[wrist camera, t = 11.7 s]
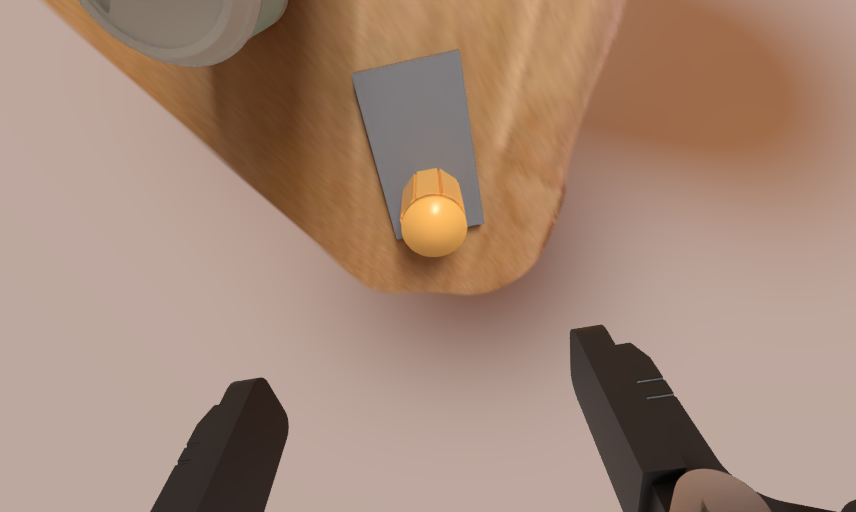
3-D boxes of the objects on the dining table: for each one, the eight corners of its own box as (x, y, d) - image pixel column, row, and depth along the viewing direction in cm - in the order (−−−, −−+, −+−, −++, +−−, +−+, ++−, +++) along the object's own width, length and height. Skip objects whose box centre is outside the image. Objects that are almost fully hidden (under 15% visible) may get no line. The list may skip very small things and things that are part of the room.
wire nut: (398, 175, 33) (394, 205, 28) (455, 164, 33) (462, 192, 28) (410, 226, 36) (409, 262, 31) (464, 216, 35) (471, 251, 30)
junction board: (354, 72, 31) (343, 82, 26) (458, 49, 30) (464, 55, 26) (397, 231, 38) (394, 260, 34) (482, 216, 37) (490, 243, 33)
